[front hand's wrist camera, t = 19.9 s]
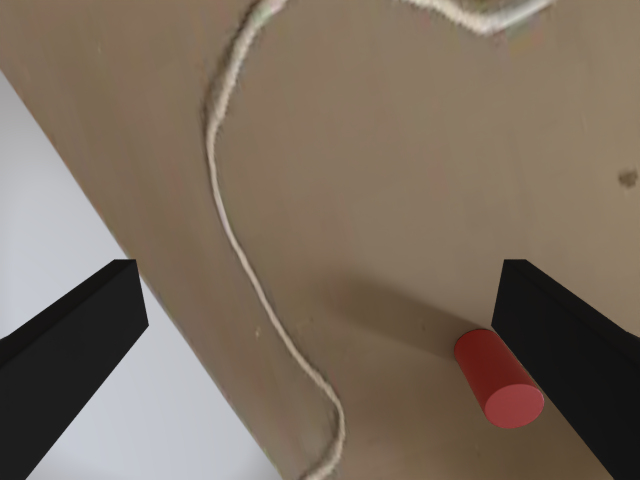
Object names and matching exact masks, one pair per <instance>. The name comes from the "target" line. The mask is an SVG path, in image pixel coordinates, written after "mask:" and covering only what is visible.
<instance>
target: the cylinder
mask: <svg viewBox="0 0 640 480" xmlns="http://www.w3.org/2000/svg"><path fill="white" fill-rule="evenodd" d="M454 355H455V358H456V360H457V362H458V364H459V366H460V368H461V370H462V372H463V373H464V375H465V377H466V379H467V381H468V383H469V385H470V387H471V389H472V391H473V393H474V395H475V397H476V399H477V401H478V402H479V404H480V406H481V408H482V410H483V412H484V414H485V416H486V418H487V419H488V420H489V421H490V422H491V423H492V424H494V425H496V426H498V427H502V428H517V427H521V426H524V425H526V424H528V423H530V422H532V421H533V420H535V419H536V418H537V417H538V416H539V415H540V413H541V412H542V410H543V407H544V398H543V395H542V393H541V392H540V391H539V389H538V388H537V387H536V385H535V384H534V383H533V381H532V380H531V379H530V377H529V376H528V375H527V373H526V372H525V371H524V369H523V368H522V367H521V365H520V364H519V363H518V361H517V360H516V359H515V357H514V356H513V355H512V353H511V352H510V351H509V349H508V348H507V347H506V345H505V344H504V343H503V341H502V340H501V339H500V337H499V336H498V335H497V334H495V333H494V332H492V331H489V330H484V329H479V330H473V331H470V332H468V333H466V334H464V335H463V336H462V337H461V338H460V339H459V340H458V341H457V343H456V345H455V348H454Z"/></svg>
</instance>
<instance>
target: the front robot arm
mask: <svg viewBox="0 0 640 480" xmlns="http://www.w3.org/2000/svg"><path fill="white" fill-rule="evenodd" d="M148 326H149V324H148V319H147V314H146V308H145V303H144V298H143V293H142V288H141V283H140V278H139V273H138V268H137V263H136V259H114V260H113V261H111V262H110V263H109V264H107V265H106V266H104V267H103V268H102V269H100V270H99V271H98V272H96V273H95V274H93V275H92V276H91V277H89V278H88V279H86V280H85V281H84V282H82V283H81V284H79V285H78V286H77V287H75V288H74V289H72V290H71V291H70V292H68V293H67V294H65V295H64V296H63V297H61V298H60V299H58V300H57V301H56V302H54V303H53V304H52V305H50V306H49V307H47V308H46V309H45V310H43V311H42V312H40V313H39V314H38V315H36V316H35V317H33V318H32V319H31V320H29V321H28V322H26V323H25V324H24V325H22V326H21V327H19V328H18V329H17V330H15V331H14V332H12V333H11V334H10V335H8V336H6V337H4V338H2V339H0V480H26V478H27V477H28V476H29V475H30V473H31V472H32V471H33V470H34V468H35V467H36V466H37V465H38V463H39V462H40V461H41V459H42V458H43V457H44V456H45V455H46V453H47V452H48V451H49V450H50V448H51V447H52V446H53V445H54V443H55V442H56V441H57V439H58V438H59V437H60V436H61V435H62V433H63V432H64V431H65V430H66V428H67V427H68V426H69V425H70V423H71V422H72V421H73V420H74V418H75V417H76V416H77V415H78V413H79V412H80V411H81V410H82V408H83V407H84V406H85V405H86V403H87V402H88V401H89V400H90V398H91V397H92V396H93V395H94V393H95V392H96V391H97V390H98V388H99V387H100V386H101V385H102V383H103V382H104V381H105V380H106V378H107V377H108V376H109V375H110V373H111V372H112V371H113V370H114V368H115V367H116V366H117V365H118V363H119V362H120V361H121V360H122V358H123V357H124V356H125V355H126V353H127V352H128V351H129V350H130V348H131V347H132V346H133V345H134V343H135V342H136V341H137V340H138V338H139V337H140V336H141V335H142V333H143V332H144V331H145V330H146V329H147V327H148ZM491 326H492V327H493V329H494V330H495V331H496V332H497V334H498V335H499V336H500V337H501V339H502V340H503V341H504V342H505V344H506V345H507V346H508V347H509V348H510V350H511V351H512V352H513V353H514V355H515V356H516V357H517V358H518V360H519V361H520V362H521V363H522V365H523V366H524V367H525V368H526V370H527V371H528V372H529V373H530V375H531V376H532V377H533V378H534V380H535V381H536V382H537V383H538V385H539V386H540V387H541V388H542V390H543V391H544V392H545V393H546V395H547V396H548V397H549V398H550V400H551V401H552V402H553V403H554V405H555V406H556V407H557V408H558V410H559V411H560V412H561V413H562V415H563V416H564V417H565V418H566V420H567V421H568V422H569V423H570V425H571V426H572V427H573V428H574V430H575V431H576V432H577V433H578V435H579V436H580V437H581V438H582V440H583V441H584V442H585V443H586V445H587V446H588V447H589V448H590V450H591V451H592V452H593V453H594V455H595V456H596V457H597V458H598V460H599V461H600V462H601V463H602V465H603V466H604V467H605V468H606V470H607V471H608V472H609V473H610V475H611V476H612V477H613V478H614V480H640V338H639V337H637V336H635V335H633V334H631V333H629V332H626V331H625V330H623V329H622V328H621V327H619V326H618V325H616V324H615V323H614V322H612V321H611V320H609V319H608V318H607V317H605V316H604V315H602V314H601V313H600V312H598V311H597V310H596V309H594V308H593V307H591V306H590V305H589V304H587V303H586V302H584V301H583V300H582V299H580V298H579V297H577V296H576V295H575V294H573V293H572V292H570V291H569V290H568V289H566V288H565V287H563V286H562V285H561V284H559V283H558V282H556V281H555V280H554V279H552V278H551V277H549V276H548V275H547V274H545V273H544V272H542V271H541V270H540V269H538V268H537V267H536V266H534V265H533V264H531V263H530V262H529V261H527V260H526V259H504V263H503V268H502V273H501V278H500V283H499V288H498V293H497V298H496V303H495V308H494V313H493V319H492V324H491Z"/></svg>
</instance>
